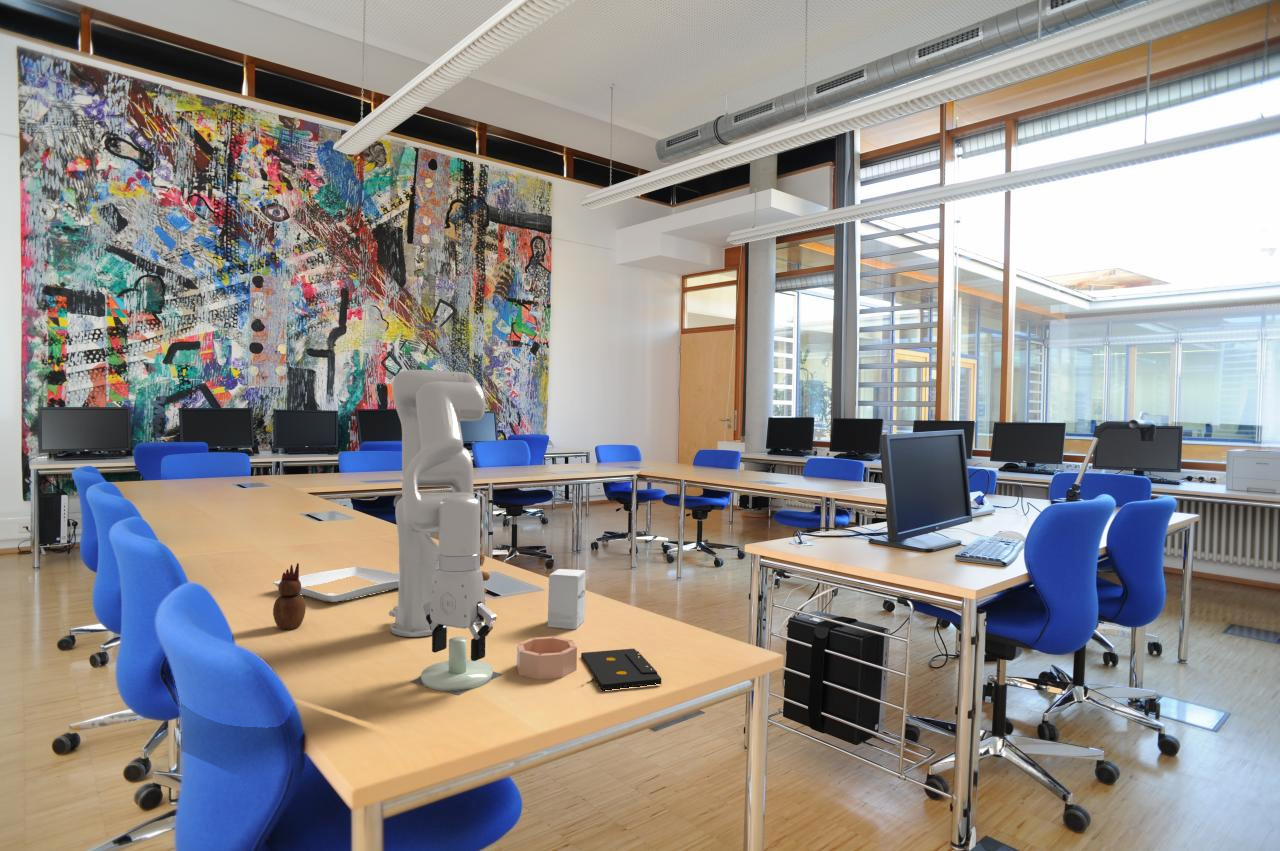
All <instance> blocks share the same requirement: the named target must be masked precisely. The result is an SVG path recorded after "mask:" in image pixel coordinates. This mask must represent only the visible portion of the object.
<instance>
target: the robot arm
mask: <svg viewBox="0 0 1280 851" xmlns="http://www.w3.org/2000/svg"><path fill="white" fill-rule="evenodd" d="M392 381H393V382H392V398H393V403H394V406H395V410H396V412H397V416H398V418H399V421H400V424H401V434H402V435H401V468H402V470H401V471H402V477H403V478H402V482H401V496H402V497H401V498H400V499H398V501H397V503H396V505H395V511H394V512H395V514H394V515H395V521H396V522H395V523H396V528H397V536H398V574H399V588H398V592H397V593H398V594H397V595H398V597H397V598H398V600H397V602H398V603H397V605H394V607H393V608H392V609H390V610H389V612H388V615H389V616H390V617H394V619H395V620H394V623H392V624H391V625H390V632H391V634H393V635H396V636H399V637H405V638H406V637H407V638H417V637H418V638H420V637H426V636H427V637H428V636H431V652H432V653H438V652H440V651H443V650H446V649H447V646H448V643H447V641H448V639H447V636H448V635H447V634H448V630H447V629H448V628H449V627H452V628H456V629H469V632H470V633H471V635H472V637H473V638H471V641H470V660H472V661H476V660H477V661H480V660H482V659H484V658H486V637H488V636H489V634H490V633H491V631H492V630H493V629H494V625H495V623H496V620H497V615H496V614H495V613H494V612H493V611H492V610H491V609H490V608H488V607H487V606H486V594H485V591H484V589H485V583H484V582H485V581H483V576H482V570H481V566H480V552H481V503H480V500H479V499H478V498H476V496H474V465H473V464H474V462H473V458H472V455H471V452H470V451H469V450H468V449H467V448H466V447H464V440H463V434H462V427H461V425H462V424H461V422H477V421H479V420H482V418H483V417H484V415H485V411H486V406H487V404H486V396H485V394H484V390H483V388H482V386H481V385H480V383H479V382H478V381H477V380H476V378H474V377H473V376H472V375H471V374H469V373H467V372H463V371H454V370H453V371H450V370H436V369H435V370H434V369H433V370H432V369H407V370H402V371H400V372H398V373H397V374H395V375H394V378H393V380H392ZM419 487H420V488H422V487H423V488H426V487H427V488H429V487H431V488H433V487H437V488H438V487H450V488H451V491H449V492H447V491H444V492H443V491H442V492H436V491H435V492H433V491H432V492H419ZM437 534H438V544H437V543H436V542H435V540H433V538H432V537H431V536H432V535H437Z"/></svg>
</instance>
